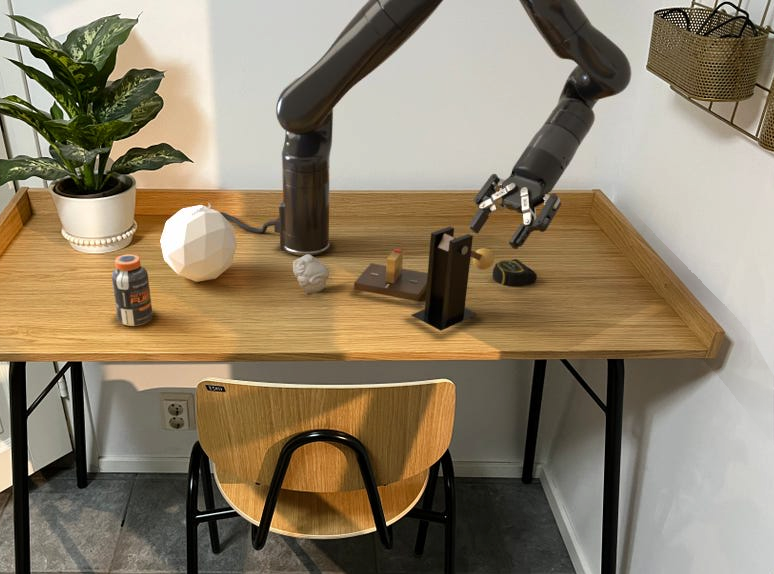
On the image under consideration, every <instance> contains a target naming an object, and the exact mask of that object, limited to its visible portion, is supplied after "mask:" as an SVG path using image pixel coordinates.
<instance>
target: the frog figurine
mask: <svg viewBox="0 0 774 574" xmlns="http://www.w3.org/2000/svg"><path fill="white" fill-rule="evenodd" d="M292 271H293V274H294V276H295V278H297V279H296V280H297V281H298V283H299V287H300V288H301V290H303V292H305V293H307V294H309V295H314V294H318V293H320V292H323V290H324V289H325V288H326V286H327V281H328V279H329V278H330V269H329V268H328V267H327V266H326V265H325V264H324V263H323V262H322V261H320V260H319V259H317V258H316V257H314V256H311V255H310V254H307V255H304V256H300V257H298V258H297V259H295V260H293V261H292Z"/></svg>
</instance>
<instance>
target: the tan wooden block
mask: <svg viewBox="0 0 774 574" xmlns="http://www.w3.org/2000/svg"><path fill="white" fill-rule="evenodd" d="M403 263H404V250H403V249H401V248H394V250H393V251H392V252H391V253H390V254H389V256H388V257H387V258H386V265H385V266H386V282H388V283H393V284H394V283H395V282H396V280H397V279H398V278H399V277H400V275H401V274H402V269H403V265H404V264H403Z"/></svg>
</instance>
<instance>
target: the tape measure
mask: <svg viewBox="0 0 774 574" xmlns="http://www.w3.org/2000/svg"><path fill="white" fill-rule="evenodd" d="M491 275H492V278H493V281H495V282H496V283H497V284H499V285H502V286H504V287H510V288H519V287H524V286H528V285H533V284H535V283H536V282H537V279H538V275H537V273H536V272H535V271H534V270H533V269H531V268H530V267H529V266H527V265H525V264H524V263H523V262H522V261H520V260H519V259H517V258H514V259H503V260H499V261H498V262H496V263H495V265H494V267H493V269H492V274H491Z"/></svg>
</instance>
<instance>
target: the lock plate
mask: <svg viewBox="0 0 774 574" xmlns="http://www.w3.org/2000/svg"><path fill="white" fill-rule="evenodd" d="M427 276H428V272H424V271H419V270H413V269H407V268H402V274H401V275H400V277H399V278H398V279H397V280H396V282H395V283H394V284H393V283H388V282H386V265H385V264H378V263H372V262H371V263H370V264H369V265H368V266H367V267H366V268H365V270H364V271H363V272H362V273H361V274H360V276H358V277H357V279H356V280H355V281H354V283H353V290H355V291H360V292H361V291H362V292H367V293H372V294H377V295H382V296H386V297H387V296H389V297H393V298H399V299H404V300H409V301H415V302H419V301H420V300H421V298H422V296H423V295H424V294H425V293H426V288H427Z"/></svg>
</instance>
